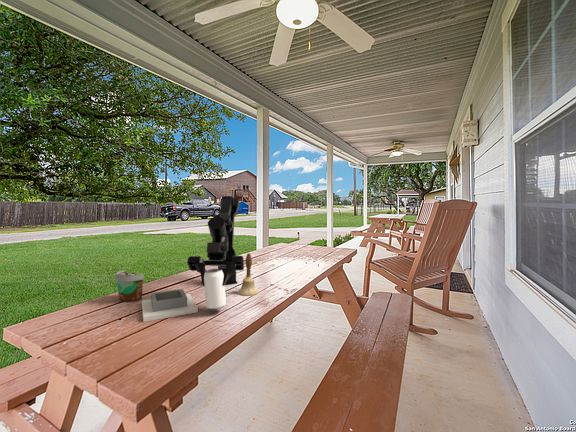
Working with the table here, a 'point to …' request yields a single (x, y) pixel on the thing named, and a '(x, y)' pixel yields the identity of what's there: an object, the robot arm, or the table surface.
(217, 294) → the can
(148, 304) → the socket board
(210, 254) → the robot arm
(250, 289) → the hand bell
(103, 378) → the table surface
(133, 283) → the food container
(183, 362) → the table surface
